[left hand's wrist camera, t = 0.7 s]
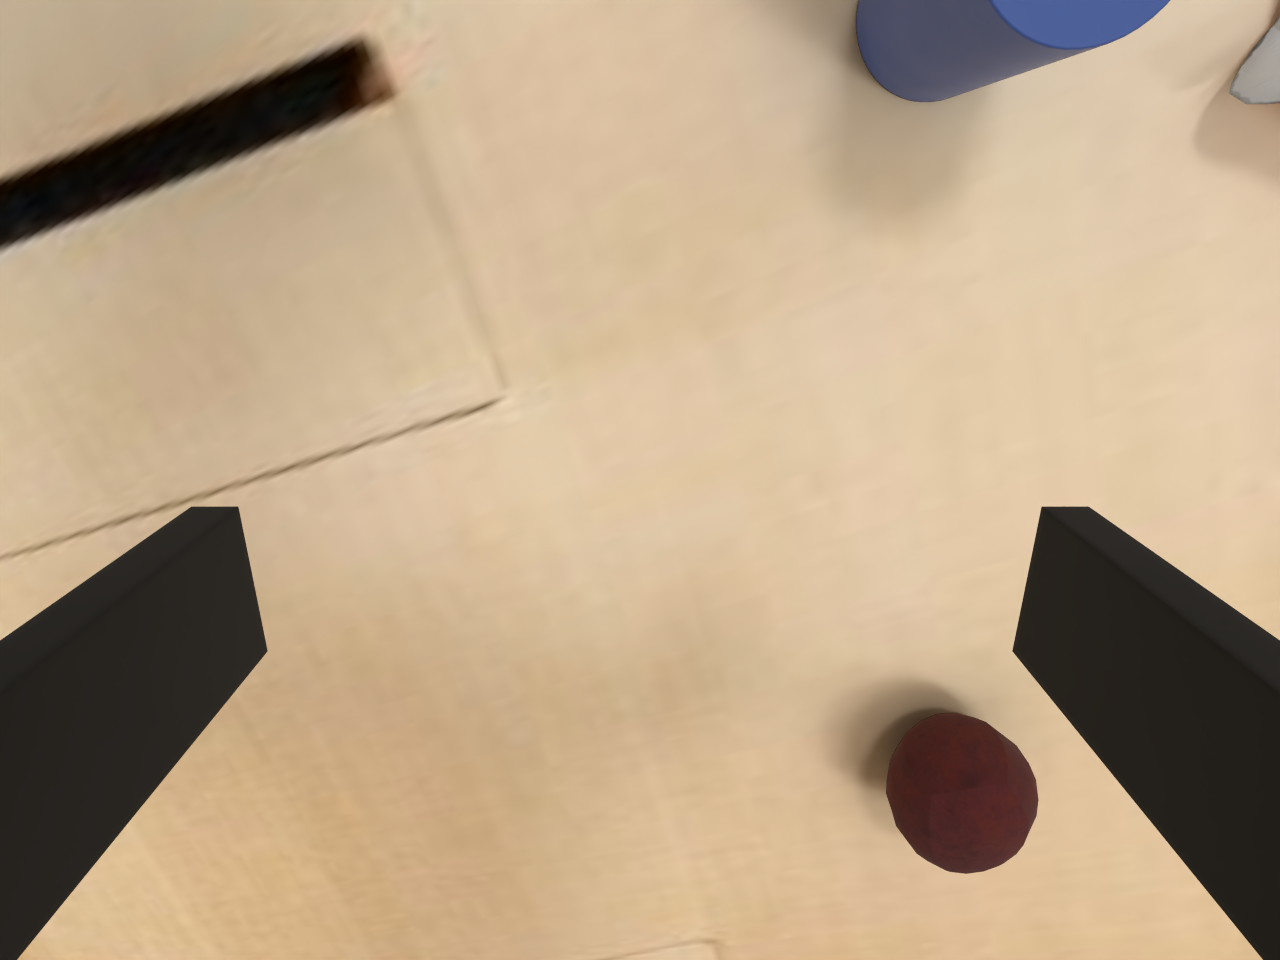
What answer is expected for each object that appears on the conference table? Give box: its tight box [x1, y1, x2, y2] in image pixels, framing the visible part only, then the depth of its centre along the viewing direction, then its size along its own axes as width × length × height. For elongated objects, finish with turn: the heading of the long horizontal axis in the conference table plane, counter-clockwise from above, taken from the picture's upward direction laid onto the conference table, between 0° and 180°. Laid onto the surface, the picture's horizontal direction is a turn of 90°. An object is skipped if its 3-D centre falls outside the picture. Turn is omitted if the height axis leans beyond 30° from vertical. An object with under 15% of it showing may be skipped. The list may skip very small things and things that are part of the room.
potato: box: [886, 713, 1038, 874], centre depth 39 cm, size 7×8×7 cm
